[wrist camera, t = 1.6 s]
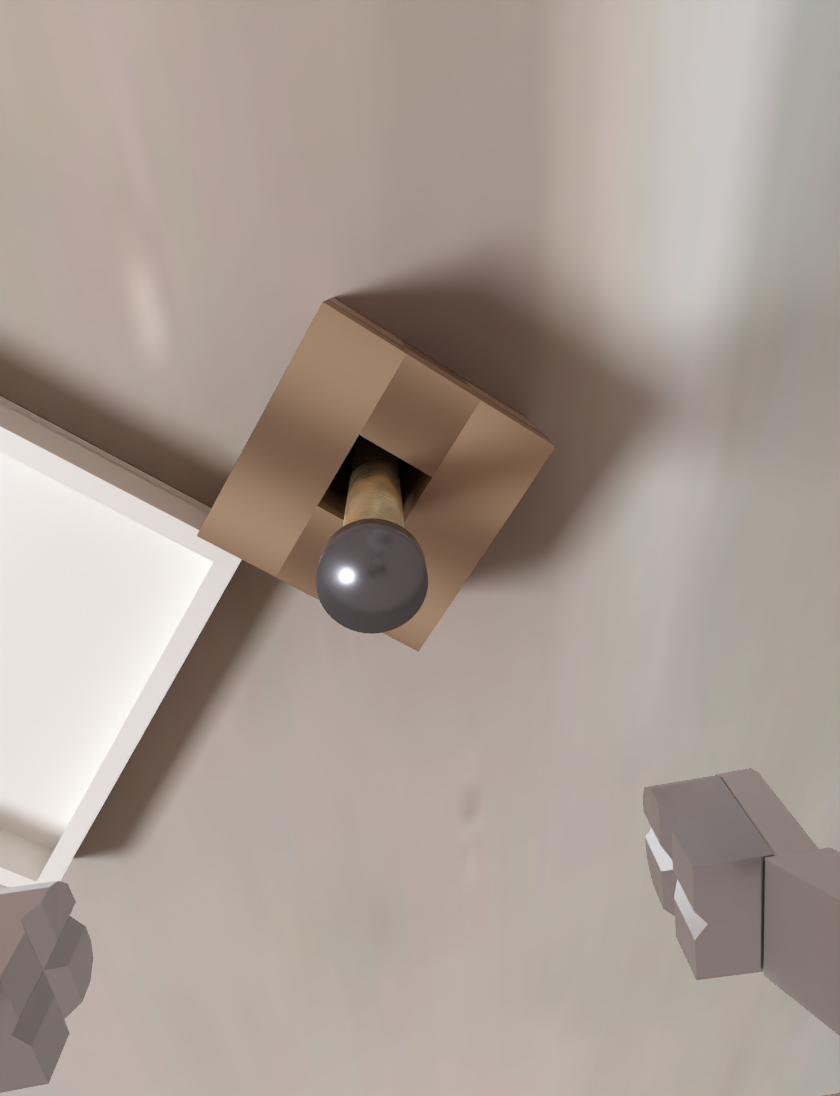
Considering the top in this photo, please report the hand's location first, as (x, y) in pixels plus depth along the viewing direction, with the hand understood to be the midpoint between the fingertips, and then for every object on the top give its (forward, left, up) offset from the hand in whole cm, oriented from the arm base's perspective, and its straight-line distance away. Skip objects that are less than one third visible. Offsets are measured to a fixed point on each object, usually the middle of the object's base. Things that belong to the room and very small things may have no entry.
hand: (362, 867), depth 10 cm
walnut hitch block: (0, 0, -25) cm, 25 cm away
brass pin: (0, 0, -25) cm, 25 cm away
